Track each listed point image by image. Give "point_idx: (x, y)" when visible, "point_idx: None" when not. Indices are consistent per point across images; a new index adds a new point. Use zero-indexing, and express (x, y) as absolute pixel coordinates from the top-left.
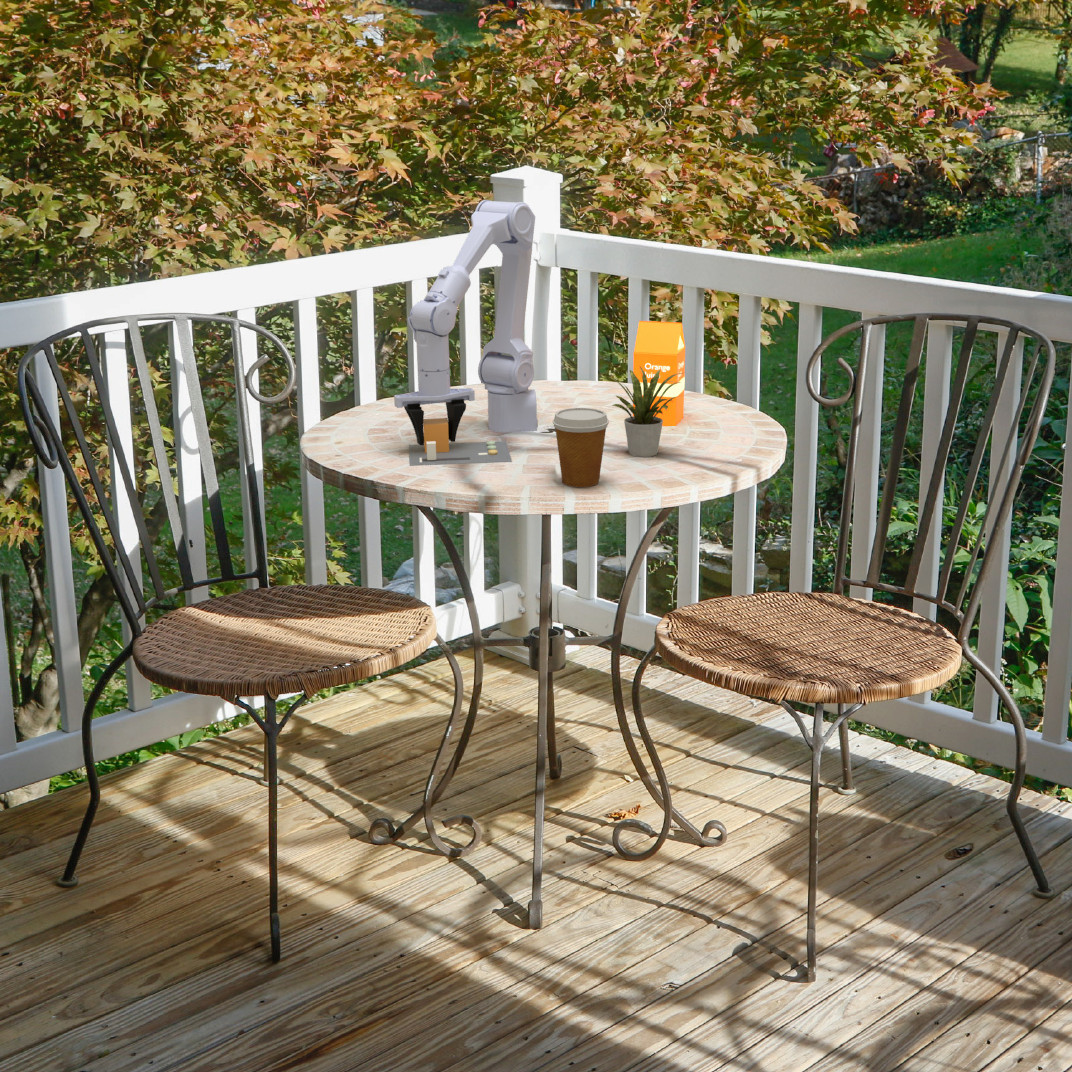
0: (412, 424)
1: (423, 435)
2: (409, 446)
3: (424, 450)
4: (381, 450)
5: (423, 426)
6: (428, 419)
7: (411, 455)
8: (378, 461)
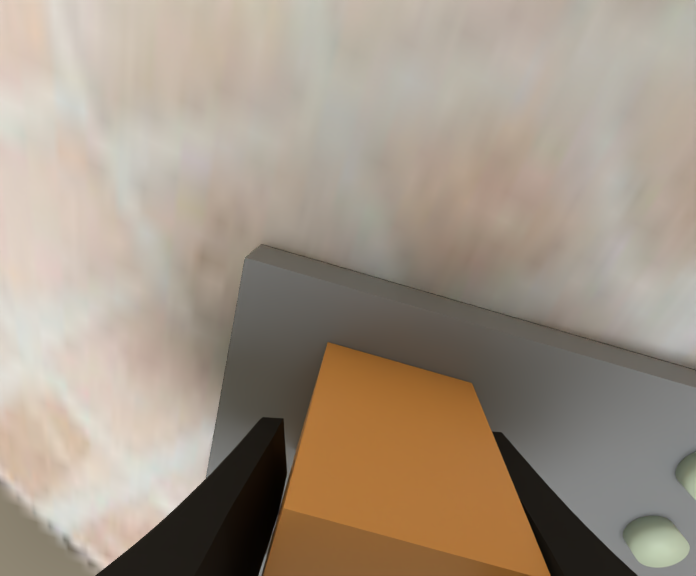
0: (166, 521)
1: (265, 547)
2: (240, 300)
3: (306, 410)
4: (101, 117)
5: (300, 444)
6: (333, 547)
7: (220, 460)
8: (85, 334)
